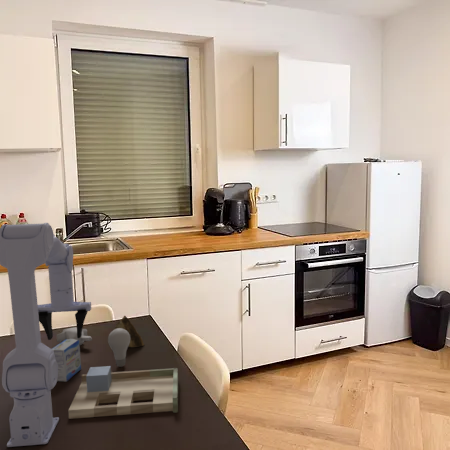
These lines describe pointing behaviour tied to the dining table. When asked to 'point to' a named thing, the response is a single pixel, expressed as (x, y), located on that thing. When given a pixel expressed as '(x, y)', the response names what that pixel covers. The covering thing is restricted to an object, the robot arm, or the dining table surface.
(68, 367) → the medicine box
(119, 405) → the tray
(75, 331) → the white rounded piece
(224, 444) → the dining table surface
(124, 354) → the lightbulb
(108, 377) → the slate block
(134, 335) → the rock
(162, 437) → the dining table surface
